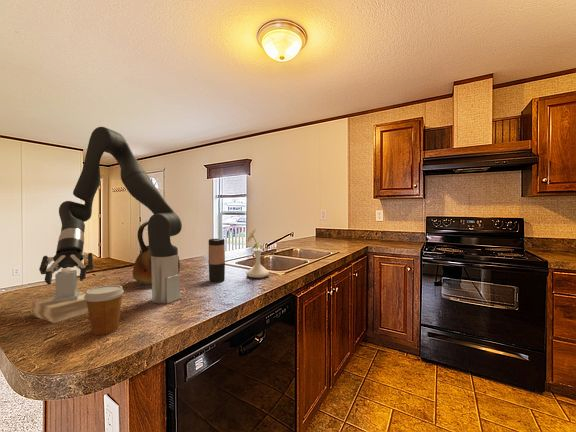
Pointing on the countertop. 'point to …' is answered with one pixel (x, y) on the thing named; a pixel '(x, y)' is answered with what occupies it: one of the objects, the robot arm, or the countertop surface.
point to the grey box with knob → (66, 286)
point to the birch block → (59, 309)
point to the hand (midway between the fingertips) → (65, 281)
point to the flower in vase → (257, 269)
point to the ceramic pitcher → (144, 261)
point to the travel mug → (216, 260)
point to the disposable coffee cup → (104, 308)
